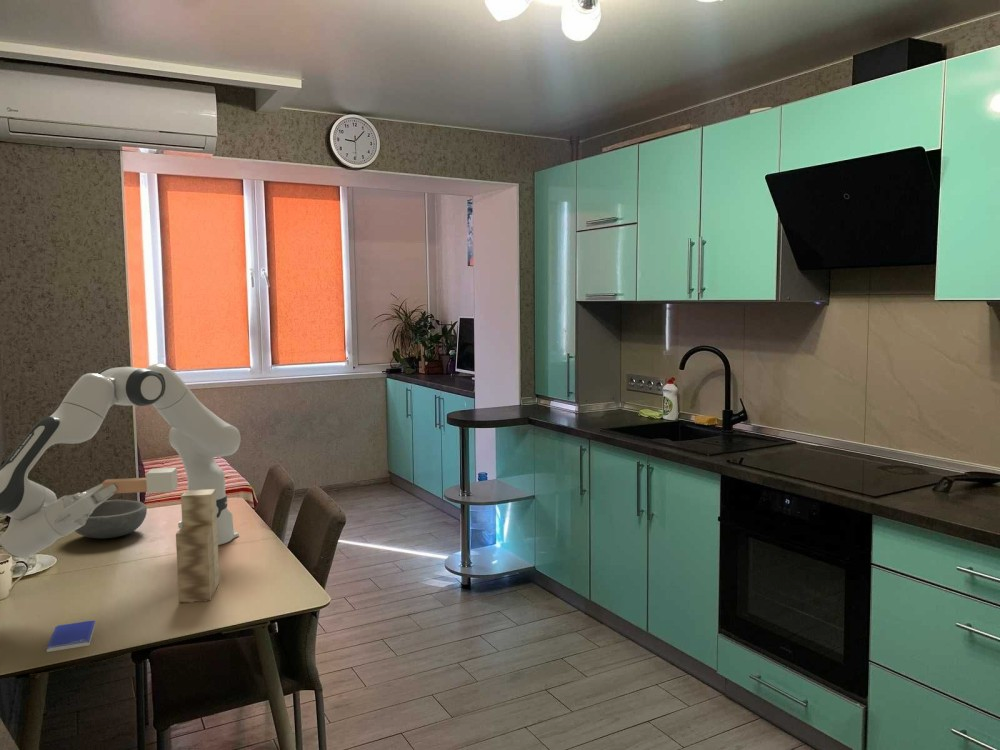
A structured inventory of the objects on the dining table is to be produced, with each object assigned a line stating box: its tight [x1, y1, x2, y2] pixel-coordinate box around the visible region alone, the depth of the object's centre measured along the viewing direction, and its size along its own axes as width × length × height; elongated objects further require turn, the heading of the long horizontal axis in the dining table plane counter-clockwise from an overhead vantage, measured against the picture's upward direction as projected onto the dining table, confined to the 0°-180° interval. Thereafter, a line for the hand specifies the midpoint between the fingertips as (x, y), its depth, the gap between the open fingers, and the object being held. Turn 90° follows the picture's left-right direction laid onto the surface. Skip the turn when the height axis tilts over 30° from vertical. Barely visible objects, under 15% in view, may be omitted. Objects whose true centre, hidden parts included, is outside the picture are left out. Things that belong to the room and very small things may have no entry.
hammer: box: [102, 467, 179, 494], centre depth 188 cm, size 16×6×5 cm, turn 100°
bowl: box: [74, 499, 148, 539], centre depth 246 cm, size 23×22×10 cm
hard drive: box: [46, 620, 96, 653], centre depth 170 cm, size 2×8×12 cm
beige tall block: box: [175, 489, 220, 604], centre depth 195 cm, size 8×13×26 cm, turn 11°
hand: (118, 484), depth 187 cm, fingers closed on hammer, 3 cm apart
